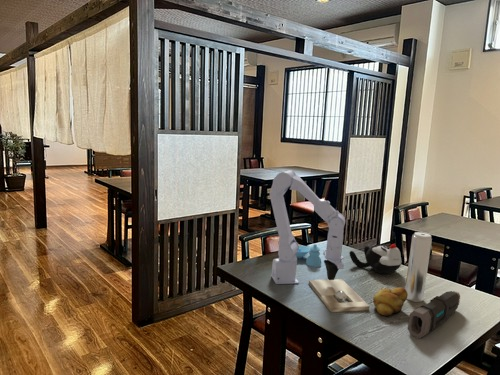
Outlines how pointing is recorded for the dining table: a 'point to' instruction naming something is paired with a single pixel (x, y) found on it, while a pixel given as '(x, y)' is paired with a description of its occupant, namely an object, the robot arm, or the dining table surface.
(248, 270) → the dining table surface
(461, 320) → the dining table surface
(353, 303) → the ash board
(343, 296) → the steel ball
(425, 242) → the silver cylinder
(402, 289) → the bread roll
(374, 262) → the toy
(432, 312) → the tube
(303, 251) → the light blue lumpy shape
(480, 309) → the dining table surface
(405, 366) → the dining table surface
